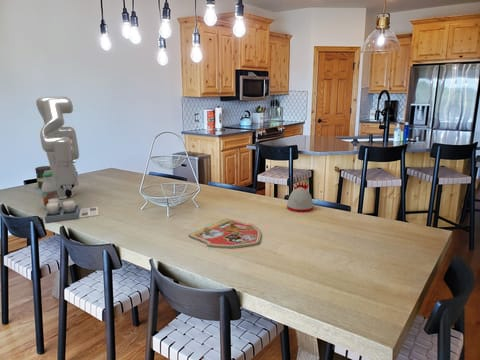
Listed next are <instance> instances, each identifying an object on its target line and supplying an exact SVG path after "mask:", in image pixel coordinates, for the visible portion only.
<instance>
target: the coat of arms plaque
mask: <svg viewBox="0 0 480 360" xmlns="http://www.w3.org/2000/svg"><path fill="white" fill-rule="evenodd" d="M187 236H188V238H190V239H193V240H196V241H198V242H199V243H200V242H201V243H202V244H204V245H206V247H208V248H215V249H216V248H217V249H239V248H240V249H242V248H247V247H248V248H249V247H254V246H258V245H259V244H260V243H261V239H262V231H261V230H260V229H259V228H258V227H257V226H256V225H255V224H254V223H247V222H243V221H239V220H235V219H232V218H228V217H227V218H223V219H222V220H219V221H217V222H215V223H211V225H208V226H205V227H203V228H201V229H198V230H196V231H194V232H192V233H189V234H188V235H187Z"/></svg>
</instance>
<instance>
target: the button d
mask: <svg viewBox="0 0 480 360" xmlns="http://www.w3.org/2000/svg"><path fill="white" fill-rule="evenodd" d="M74 202H75V200H72V199H70V200H64V201H63V202H62V205H63V206H62V207H64V210H66V212H72V211H74V210H73V209H74V208H75V206H74Z"/></svg>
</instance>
